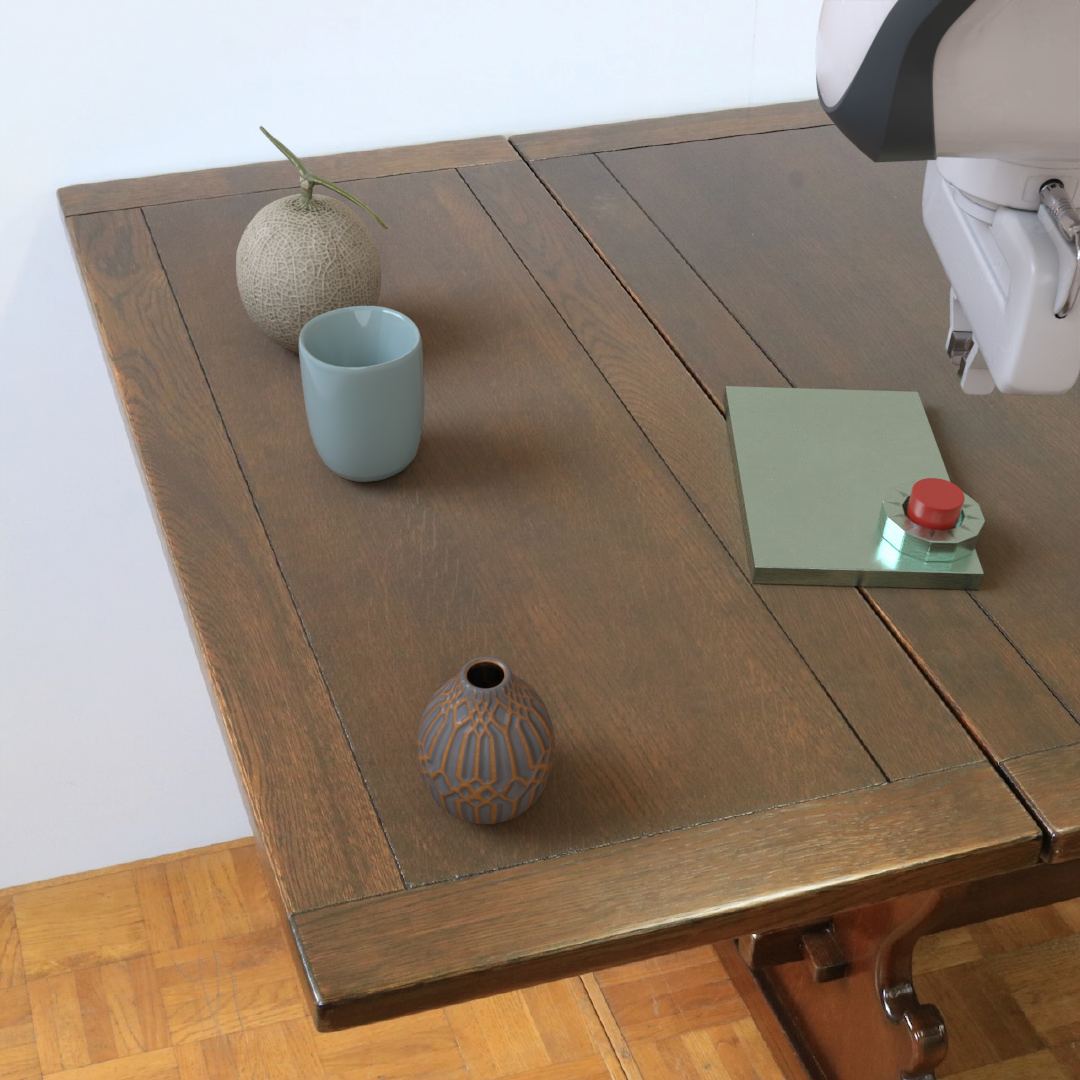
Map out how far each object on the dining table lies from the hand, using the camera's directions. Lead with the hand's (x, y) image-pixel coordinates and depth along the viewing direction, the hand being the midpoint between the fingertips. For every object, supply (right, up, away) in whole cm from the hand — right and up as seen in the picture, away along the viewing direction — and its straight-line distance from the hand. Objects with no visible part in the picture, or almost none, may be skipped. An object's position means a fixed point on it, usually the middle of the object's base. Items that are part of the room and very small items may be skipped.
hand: (967, 373), depth 76 cm
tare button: (0, -8, +7) cm, 10 cm away
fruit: (-41, +5, +26) cm, 49 cm away
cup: (-36, -5, +14) cm, 39 cm away
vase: (-27, -23, -8) cm, 36 cm away
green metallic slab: (-4, -6, +13) cm, 15 cm away
